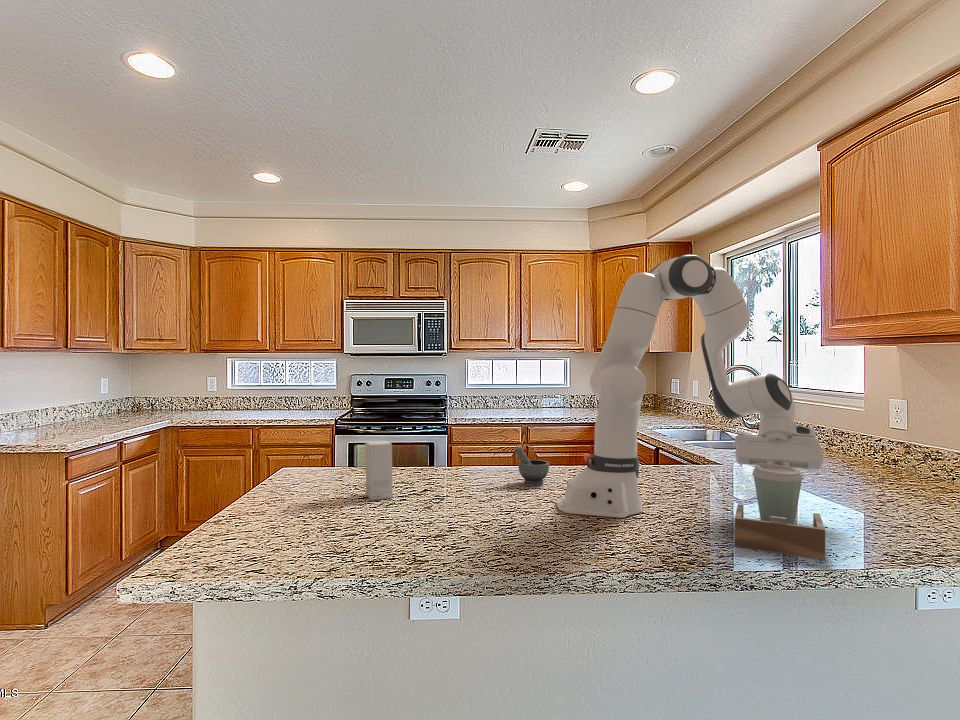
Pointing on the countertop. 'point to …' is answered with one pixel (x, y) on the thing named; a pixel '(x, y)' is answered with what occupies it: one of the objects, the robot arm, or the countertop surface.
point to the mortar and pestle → (531, 469)
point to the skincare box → (378, 470)
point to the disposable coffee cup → (777, 490)
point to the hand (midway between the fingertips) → (778, 478)
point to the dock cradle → (780, 535)
